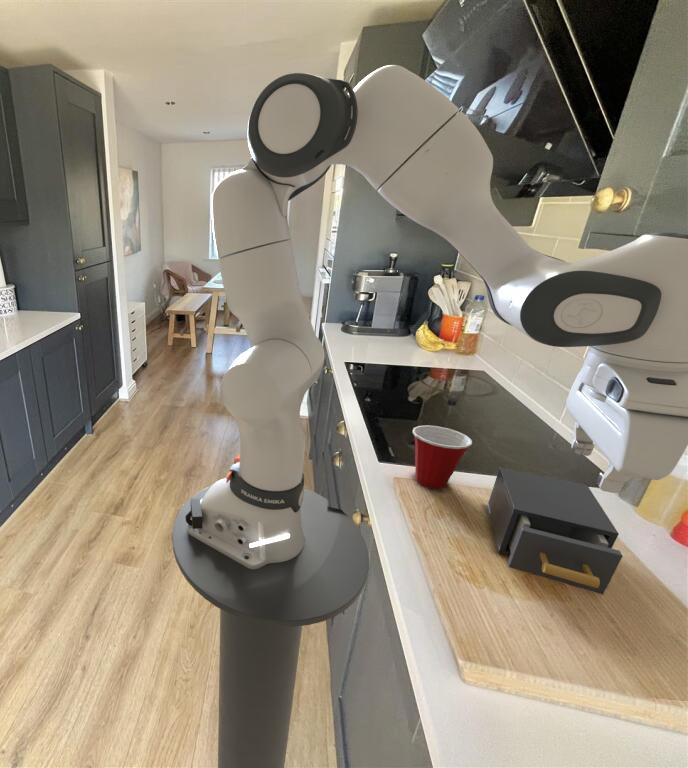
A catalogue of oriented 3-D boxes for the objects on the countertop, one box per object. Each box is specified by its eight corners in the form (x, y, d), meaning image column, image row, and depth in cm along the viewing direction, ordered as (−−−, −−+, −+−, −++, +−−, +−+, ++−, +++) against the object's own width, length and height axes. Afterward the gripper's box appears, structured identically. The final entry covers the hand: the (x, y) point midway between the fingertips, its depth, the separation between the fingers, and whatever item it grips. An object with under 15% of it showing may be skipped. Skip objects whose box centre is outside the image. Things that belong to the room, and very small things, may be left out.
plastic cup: (454, 472, 91) (466, 426, 87) (463, 500, 82) (478, 451, 78) (401, 463, 96) (410, 419, 91) (404, 488, 87) (415, 441, 82)
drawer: (613, 616, 57) (635, 576, 54) (513, 585, 62) (528, 547, 59) (575, 540, 70) (591, 505, 67) (496, 520, 76) (507, 486, 73)
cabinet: (595, 580, 64) (619, 533, 60) (498, 553, 69) (514, 508, 66) (569, 527, 75) (587, 484, 71) (486, 507, 80) (499, 467, 77)
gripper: (570, 348, 58) (541, 431, 63) (635, 400, 42) (588, 507, 47) (629, 353, 55) (594, 439, 61) (725, 411, 39) (665, 523, 44)
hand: (592, 469), depth 54 cm, fingers open, 8 cm apart
